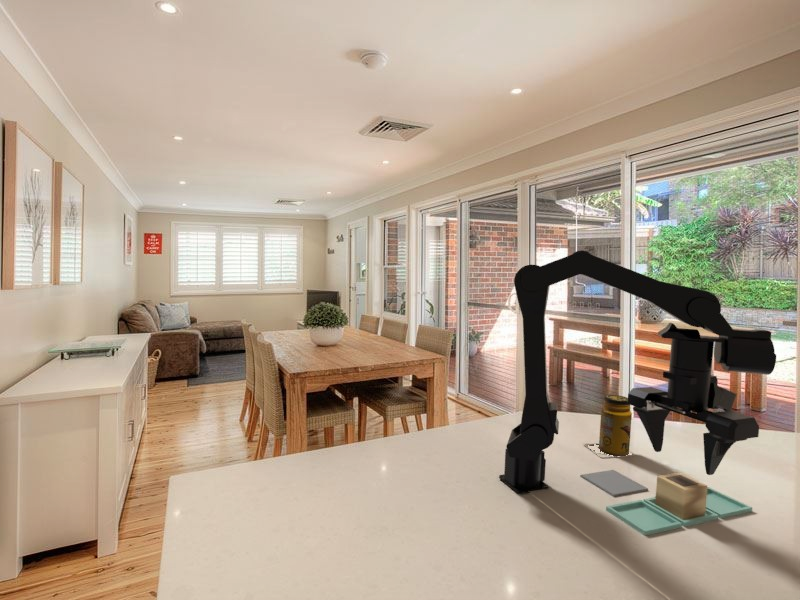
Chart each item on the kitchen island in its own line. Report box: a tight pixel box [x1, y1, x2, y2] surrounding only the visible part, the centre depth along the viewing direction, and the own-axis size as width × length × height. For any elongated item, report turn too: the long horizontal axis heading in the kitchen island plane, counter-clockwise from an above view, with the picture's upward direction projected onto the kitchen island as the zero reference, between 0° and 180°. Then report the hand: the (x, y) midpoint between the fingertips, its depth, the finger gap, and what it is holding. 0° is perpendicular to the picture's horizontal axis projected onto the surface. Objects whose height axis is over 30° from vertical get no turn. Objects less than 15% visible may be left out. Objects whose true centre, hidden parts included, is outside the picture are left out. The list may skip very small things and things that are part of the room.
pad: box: [579, 469, 649, 498], centre depth 85 cm, size 8×8×1 cm
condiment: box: [583, 394, 636, 458], centre depth 101 cm, size 7×8×12 cm
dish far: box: [706, 486, 753, 519], centre depth 79 cm, size 8×8×1 cm
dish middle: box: [642, 496, 719, 528], centre depth 76 cm, size 8×8×1 cm
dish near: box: [605, 499, 683, 536], centre depth 73 cm, size 8×8×1 cm
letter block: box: [655, 472, 709, 520], centre depth 76 cm, size 5×5×5 cm
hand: (682, 462), depth 75 cm, fingers open, 9 cm apart
